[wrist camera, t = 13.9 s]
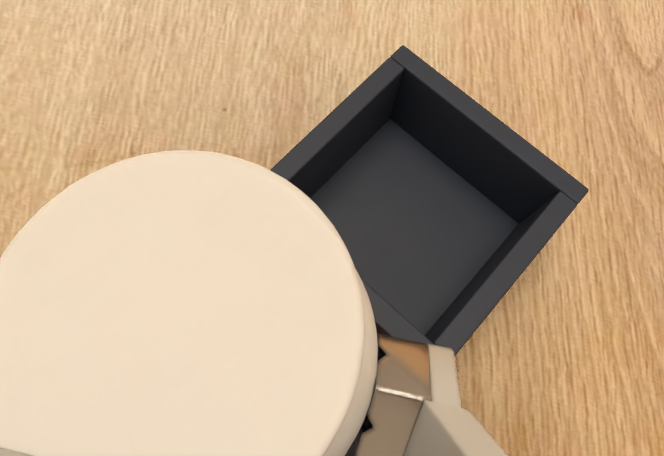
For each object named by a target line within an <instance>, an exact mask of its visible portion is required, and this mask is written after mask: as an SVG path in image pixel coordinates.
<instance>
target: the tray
mask: <svg viewBox="0 0 664 456" xmlns="http://www.w3.org/2000/svg"><path fill="white" fill-rule="evenodd" d="M270 171H272V172H274V173H276V174H277V175H279V176H281V177H283V178H285V179H286V180H288V181H289V182H290V183H292V184H293V185H294V186H296V187H297V188H298V189H300V190H301V191H302V192H303V193H304V194H306V195H307V196H308V197H309V198H310V199H311V200H312V201H313V202H314V203H315V204H316V205H317V206H318V207H319V208H320V209H321V211H322V212H323V213H324V214H325V215H326V217H327V218H328V219H329V220H330V222H331V223H332V224H333V225H334V227H335V229H336V230H337V232H338V234H339V235H340V237H341V239H342V240H343V242H344V244H345V245H346V248H347V250H348V252H349V254H350V257H351V259H352V261H353V264H354V267H355V269H356V270H357V272H358V274H359V276H360V278H361V280H362V282H363V284H364V287H365V289H366V292H367V294H368V297H369V300H370V303H371V307H372V310H373V315H374V320H375V325H376V331H377V334H378V333H379V334H383V335H388V336H392V337H397V338H401V339H405V340H410V341H414V342H419V343H423V344H427V343H428V344H433V345H438V346H443V347H448V348H452V350H453V351H454V356H455V355H456V354H457V353H458V351H459V350H460V349H461V348H462V347H463V345H464V344H465V343H466V342H467V340H468V339H469V338H470V337H471V335H472V334H473V333H474V332H475V331H476V329H477V328H478V327H479V326H480V324H481V323H482V322H483V321H484V319H485V318H486V317H487V316H488V314H489V313H490V312H491V311H492V310H493V308H494V307H495V306H496V305H497V303H498V302H499V301H500V300H501V298H502V297H503V296H504V295H505V294H506V292H507V291H508V290H509V289H510V287H511V286H512V285H513V284H514V282H515V281H516V280H517V279H518V278H519V276H520V275H521V274H522V273H523V271H524V270H525V269H526V268H527V266H528V265H529V264H530V263H531V261H532V260H533V259H534V258H535V257H536V255H537V254H538V253H539V252H540V250H541V249H542V248H543V247H544V245H545V244H546V243H547V242H548V241H549V239H550V238H551V237H552V236H553V234H554V233H555V232H556V231H557V229H558V228H559V227H560V226H561V224H562V223H563V222H564V221H565V220H566V218H567V217H568V216H569V215H570V213H571V212H572V211H573V210H574V208H575V207H576V206H577V204H578V203H579V202H580V201H581V200H582V198H583V197H584V196H585V195H586V194H587V192H588V188H586V187H585V186H584V185H583V184H581V183H580V182H579V181H577V180H576V179H575V178H574V177H572V176H571V175H570V174H568V173H567V172H566V171H565V170H563V169H562V168H561V167H559V166H558V165H557V164H556V163H554V162H553V161H552V160H550V159H549V158H548V157H547V156H545V155H544V154H543V153H541V152H540V151H539V150H537V149H536V148H535V147H534V146H532V145H531V144H530V143H528V142H527V141H526V140H525V139H523V138H522V137H521V136H519V135H518V134H517V133H516V132H514V131H513V130H512V129H510V128H509V127H508V126H507V125H505V124H504V123H503V122H501V121H500V120H499V119H498V118H496V117H495V116H494V115H492V114H491V113H490V112H489V111H487V110H486V109H485V108H483V107H482V106H481V105H480V104H478V103H477V102H476V101H474V100H473V99H472V98H471V97H469V96H468V95H467V94H465V93H464V92H463V91H462V90H460V89H459V88H458V87H456V86H455V85H454V84H453V83H451V82H450V81H449V80H447V79H446V78H445V77H444V76H442V75H441V74H440V73H438V72H437V71H436V70H435V69H433V68H432V67H431V66H429V65H428V64H427V63H426V62H424V61H423V60H422V59H420V58H419V57H418V56H417V55H415V54H414V53H413V52H411V51H410V50H409V49H408V48H406V47H405V46H403V45H402V46H401V47H400V48H399V49H398V50H397V51H396V52H395V53H394V54H393V55H391V57H390V58H388V59H387V60H386V61H385V62H384V63H383V64H382V65H381V66H380V67H379V68H378V69H377V70H376V71H375V72H374V73H372V74H371V75H370V76H369V77H368V78H367V79H366V80H365V81H364V82H363V83H362V84H361V85H360V86H359V87H358V88H357V89H356V90H354V91H353V92H352V93H351V94H350V95H349V96H348V97H347V98H346V99H345V100H344V101H343V102H342V103H341V104H340V105H339V106H338V107H336V108H335V109H334V110H333V111H332V112H331V113H330V114H329V115H328V116H327V117H326V118H325V119H324V120H323V121H322V122H321V123H320V124H319V125H317V126H316V127H315V128H314V129H313V130H312V131H311V132H310V133H309V134H308V135H307V136H306V137H305V138H304V139H303V140H302V141H301V142H299V143H298V144H297V145H296V146H295V147H294V148H293V149H292V150H291V151H290V152H289V153H288V154H287V155H286V156H285V157H284V158H283V159H282V160H280V161H279V162H278V163H277V164H276V165H275V166H274V167H273V168H272V169H271V170H270ZM355 447H356V438H355V440H354V441H353V443H352V445H351V446H350V448H349V449H348V451H347V453H346V455H345V456H355Z"/></svg>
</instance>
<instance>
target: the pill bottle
mask: <svg viewBox="0 0 664 456" xmlns="http://www.w3.org/2000/svg"><path fill="white" fill-rule="evenodd" d="M377 357H378V343H377V331H376V325H375V320H374V315H373V310H372V307H371V303H370V300H369V297H368V294H367V292H366V289H365V287H364V284H363V282H362V280H361V278H360V276H359V274H358V272H357V270H356V269H355V267H354V264H353V261H352V259H351V257H350V254H349V252H348V250H347V248H346V245H345V244H344V242H343V240H342V239H341V237H340V235H339V234H338V232H337V230H336V229H335V227H334V225H333V224H332V223H331V222H330V220H329V219H328V218H327V217H326V215H325V214H324V213H323V212H322V211H321V209H320V208H319V207H318V206H317V205H316V204H315V203H314V202H313V201H312V200H311V199H310V198H309V197H308V196H307V195H306V194H304V193H303V192H302V191H301V190H300V189H298V188H297V187H296V186H294V185H293V184H292V183H290V182H289V181H288V180H286V179H285V178H283V177H281V176H279V175H277V174H276V173H274V172H272V171H270V170H269V169H267V168H265V167H263V166H261V165H258V164H255V163H253V162H250V161H248V160H245V159H241V158H238V157H234V156H231V155H227V154H222V153H217V152H212V151H195V150H173V151H162V152H154V153H148V154H143V155H139V156H135V157H132V158H128V159H125V160H121V161H118V162H116V163H114V164H111V165H109V166H106V167H104V168H101V169H99V170H97V171H95V172H93V173H91V174H89V175H87V176H86V177H84V178H82V179H80V180H78V181H76V182H74V183H73V184H71V185H70V186H68V187H67V188H65V189H64V190H63V191H61V192H60V193H59V194H58V195H56V196H55V197H53V198H52V199H51V200H50V201H49V202H47V203H46V204H45V205H44V206H43V207H42V208H41V209H40V210H39V211H38V212H37V213H36V214H35V215H34V216H33V217H31V218H30V219H29V221H28V222H27V223H26V224H25V225H24V226H23V228H22V229H21V230H20V231H19V232H18V233H17V235H16V236H15V237H14V238H13V240H12V241H11V242H10V244H9V245H8V246H7V248H6V249H5V251H4V253H3V254H2V256H1V258H0V448H4V449H8V450H12V451H17V452H21V453H25V454H29V455H33V456H345V455H346V453H347V451H348V449H349V448H350V446H351V445H352V443H353V441H354V440H355V438H356V436H357V434H358V432H359V430H360V428H361V426H362V423H363V421H364V419H365V416H366V413H367V411H368V408H369V405H370V401H371V398H372V394H373V390H374V385H375V379H376V373H377Z"/></svg>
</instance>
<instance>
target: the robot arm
mask: <svg viewBox="0 0 664 456" xmlns="http://www.w3.org/2000/svg"><path fill="white" fill-rule="evenodd" d="M377 343H378V357H377V373H376V379H375V385H374V390H373V394H372V398H371V401H370V405H369V408H368V411H367V413H366V416H365V419H364V421H363V423H362V426H361V428H360V430H359V432H358V434H357V436H356V447H355V456H508V454H507V453H506V452H505V451H504V450H503V449H502V447H501V446H500V445H499V444H498V443H497V442H496V441H495V439H494V438H493V437H492V436H491V435H490V434H489V432H488V431H487V430H486V429H485V428H484V427H483V425H482V424H481V423H480V422H479V421H478V420H477V418H476V417H475V416H474V415H473V414H472V413H471V411H470V410H466V409H462V405H461V398H460V391H459V384H458V377H457V370H456V363H455V356H454V351H453V350H452V348H448V347H443V346H438V345H433V344H428V343H427V344H423V343H419V342H414V341H410V340H405V339H401V338H397V337H392V336H388V335H383V334H379V333H378V334H377ZM0 456H33V455H29V454H25V453H21V452H17V451H12V450H8V449H4V448H0Z"/></svg>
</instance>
